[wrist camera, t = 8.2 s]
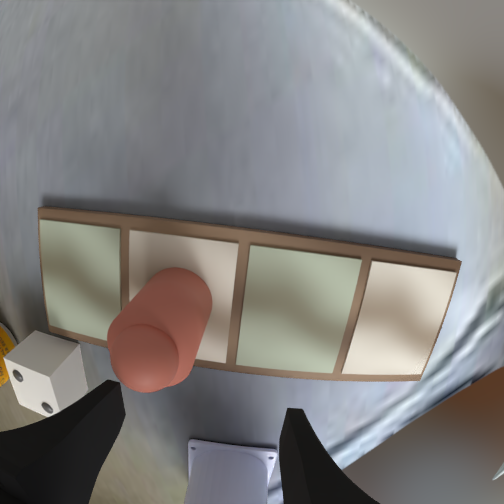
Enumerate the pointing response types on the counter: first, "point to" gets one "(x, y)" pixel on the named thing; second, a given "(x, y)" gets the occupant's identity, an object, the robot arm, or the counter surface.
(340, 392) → the counter surface
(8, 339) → the beer can
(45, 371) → the die
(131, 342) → the pawn
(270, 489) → the counter surface
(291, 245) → the board
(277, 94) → the counter surface
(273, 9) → the counter surface
